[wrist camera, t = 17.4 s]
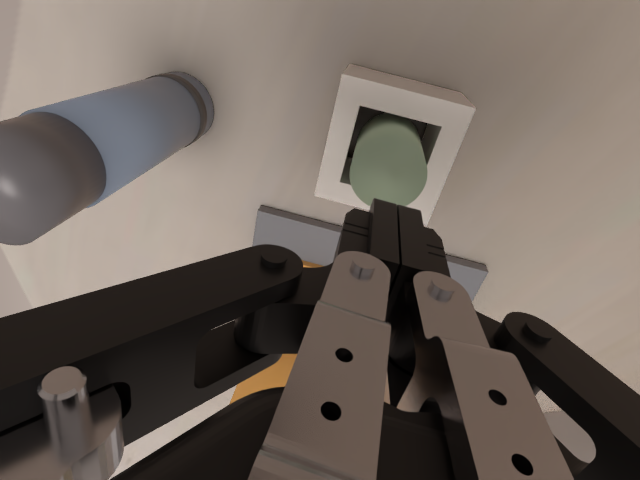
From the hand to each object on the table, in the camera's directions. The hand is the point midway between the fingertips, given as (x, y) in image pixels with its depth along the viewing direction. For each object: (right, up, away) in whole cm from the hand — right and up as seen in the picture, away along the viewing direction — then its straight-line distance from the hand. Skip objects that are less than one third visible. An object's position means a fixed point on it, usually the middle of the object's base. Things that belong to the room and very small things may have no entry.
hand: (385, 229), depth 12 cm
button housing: (+2, +6, +9) cm, 11 cm away
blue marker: (-10, +8, +10) cm, 16 cm away
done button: (+1, +5, +8) cm, 9 cm away
